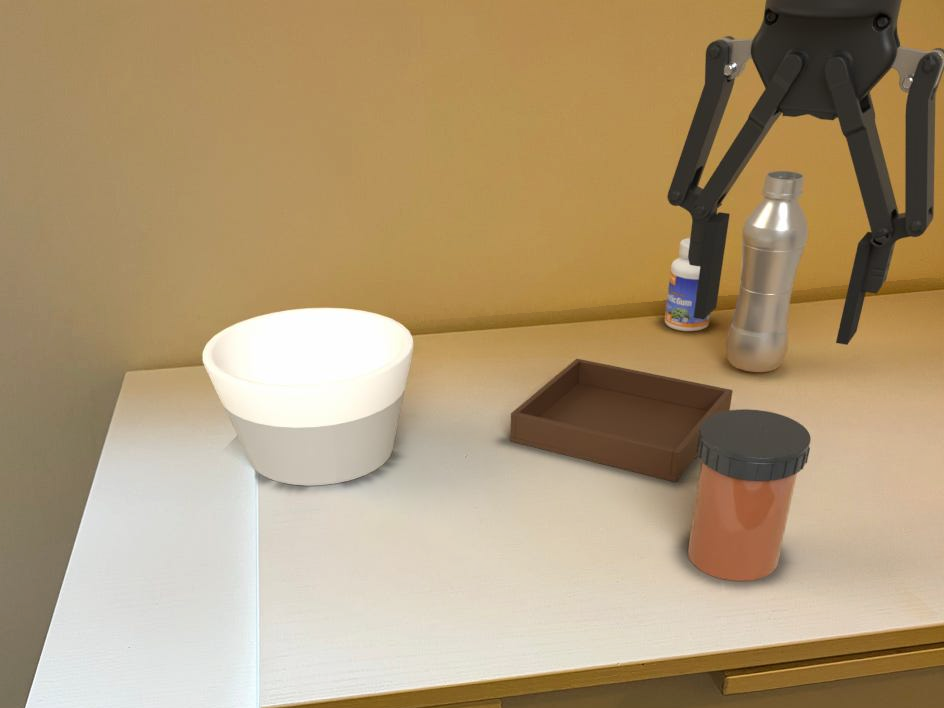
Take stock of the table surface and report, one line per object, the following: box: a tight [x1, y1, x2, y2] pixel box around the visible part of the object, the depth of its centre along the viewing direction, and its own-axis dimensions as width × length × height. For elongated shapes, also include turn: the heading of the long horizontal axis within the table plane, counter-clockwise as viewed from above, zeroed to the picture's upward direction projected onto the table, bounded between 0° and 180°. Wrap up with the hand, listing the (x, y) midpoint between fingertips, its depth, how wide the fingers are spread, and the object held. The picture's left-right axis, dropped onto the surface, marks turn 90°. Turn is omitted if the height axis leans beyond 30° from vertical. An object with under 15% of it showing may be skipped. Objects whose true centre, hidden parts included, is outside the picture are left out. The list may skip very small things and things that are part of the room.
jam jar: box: [687, 460, 798, 582], centre depth 78 cm, size 7×7×11 cm
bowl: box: [202, 307, 415, 487], centre depth 94 cm, size 19×19×11 cm
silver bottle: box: [725, 170, 809, 373], centre depth 105 cm, size 6×7×20 cm
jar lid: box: [696, 408, 812, 481], centre depth 75 cm, size 8×8×2 cm
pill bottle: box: [664, 237, 712, 332], centre depth 118 cm, size 5×5×10 cm
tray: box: [509, 358, 734, 483], centre depth 99 cm, size 17×15×3 cm
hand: (773, 324), depth 69 cm, fingers open, 9 cm apart
